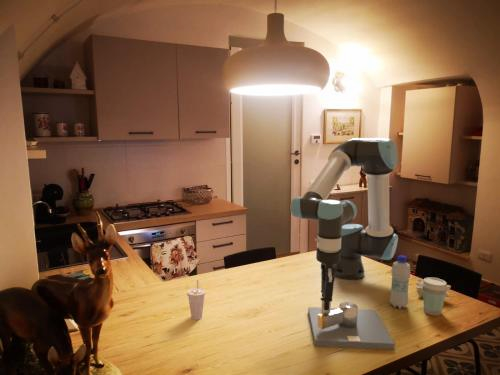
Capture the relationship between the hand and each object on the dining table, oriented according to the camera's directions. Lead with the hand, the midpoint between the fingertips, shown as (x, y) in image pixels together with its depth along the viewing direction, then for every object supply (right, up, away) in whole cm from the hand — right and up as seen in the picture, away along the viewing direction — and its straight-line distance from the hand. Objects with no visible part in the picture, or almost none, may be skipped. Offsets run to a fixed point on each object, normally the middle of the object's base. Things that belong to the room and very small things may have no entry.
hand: (325, 317), depth 123 cm
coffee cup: (+43, -4, +15) cm, 46 cm away
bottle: (+32, -3, +20) cm, 38 cm away
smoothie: (-44, -3, +10) cm, 45 cm away
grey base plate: (+8, -5, +3) cm, 10 cm away
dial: (+4, -3, 0) cm, 5 cm away
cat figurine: (+48, -2, +28) cm, 56 cm away
